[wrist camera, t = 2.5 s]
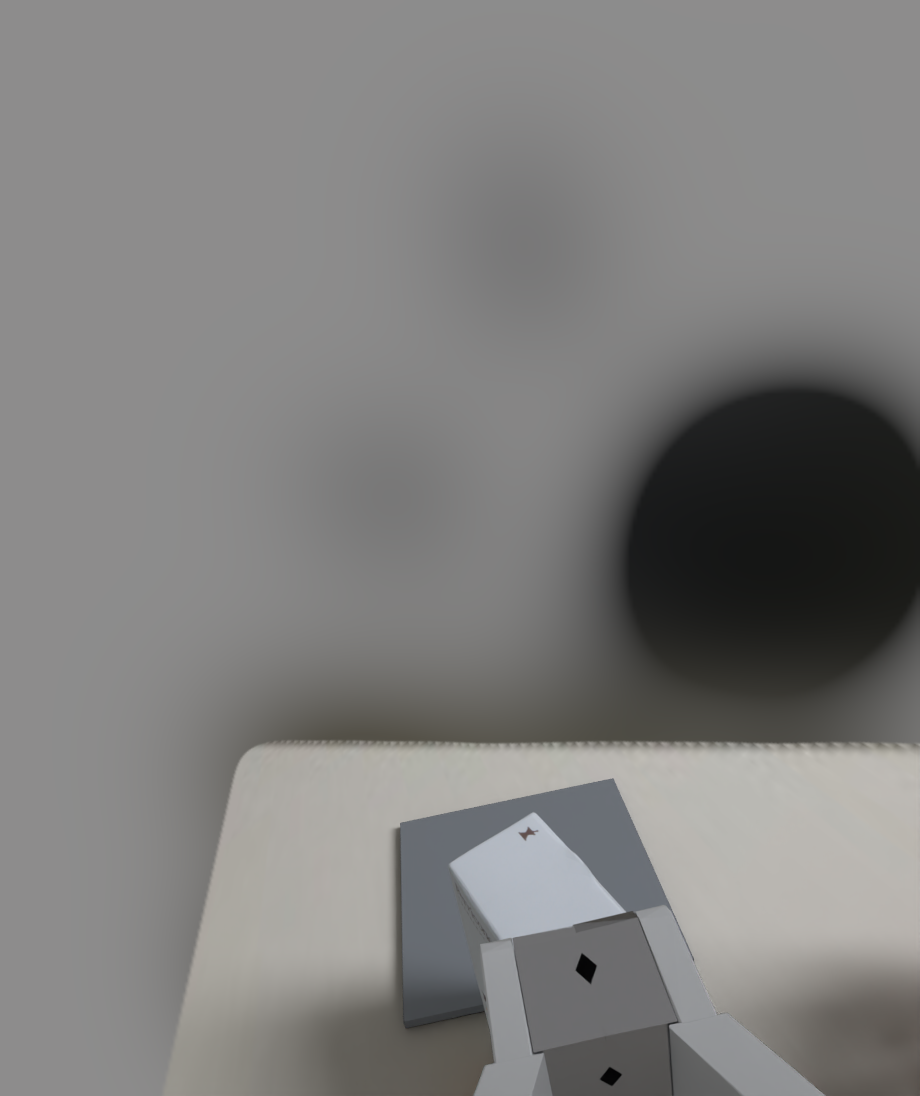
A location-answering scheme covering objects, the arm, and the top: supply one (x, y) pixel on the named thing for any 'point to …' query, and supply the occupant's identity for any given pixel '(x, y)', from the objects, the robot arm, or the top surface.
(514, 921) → the skincare box
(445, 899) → the slate mat
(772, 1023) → the top surface
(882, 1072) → the top surface
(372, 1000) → the top surface
